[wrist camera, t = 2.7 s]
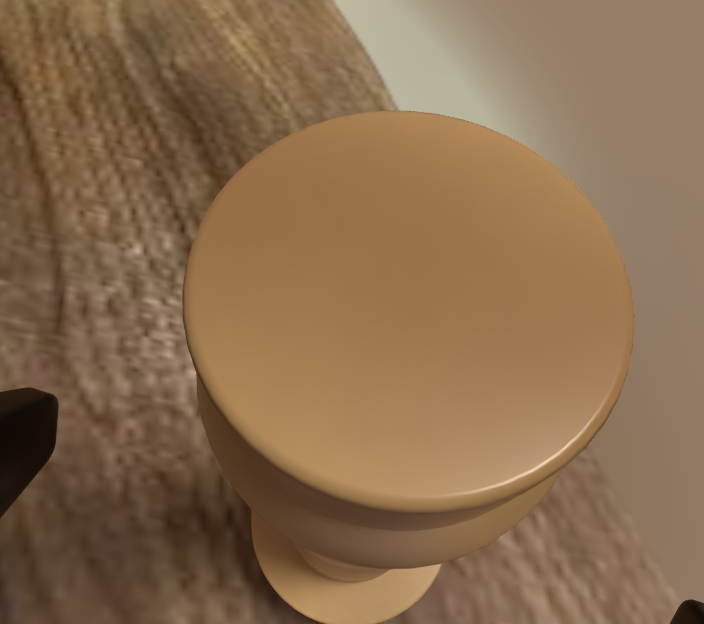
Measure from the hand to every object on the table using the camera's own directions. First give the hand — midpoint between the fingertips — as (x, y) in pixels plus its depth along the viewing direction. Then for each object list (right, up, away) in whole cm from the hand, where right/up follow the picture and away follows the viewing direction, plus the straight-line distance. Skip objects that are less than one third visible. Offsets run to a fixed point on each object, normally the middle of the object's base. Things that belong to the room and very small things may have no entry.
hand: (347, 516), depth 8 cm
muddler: (0, -3, +8) cm, 9 cm away
